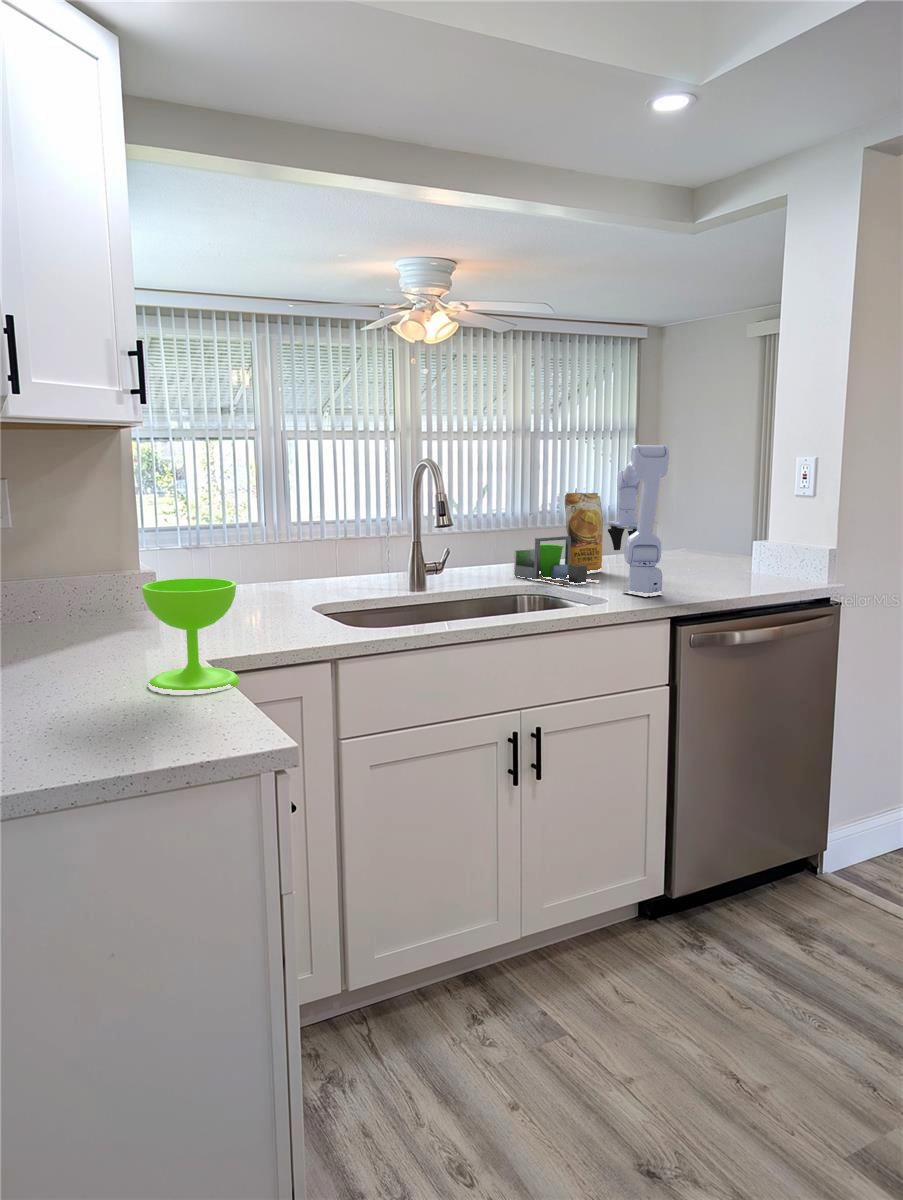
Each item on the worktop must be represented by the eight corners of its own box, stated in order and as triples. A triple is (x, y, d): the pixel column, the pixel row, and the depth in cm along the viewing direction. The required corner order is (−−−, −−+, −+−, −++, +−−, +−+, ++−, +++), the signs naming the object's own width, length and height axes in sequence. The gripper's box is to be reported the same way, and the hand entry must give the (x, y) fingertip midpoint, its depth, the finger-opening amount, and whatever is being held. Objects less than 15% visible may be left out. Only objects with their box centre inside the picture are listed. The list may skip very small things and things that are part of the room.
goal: (569, 577, 283) (570, 536, 281) (536, 581, 275) (537, 538, 272) (546, 573, 292) (548, 533, 290) (514, 576, 284) (515, 535, 281)
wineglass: (129, 684, 150) (123, 585, 147) (204, 667, 162) (200, 575, 159) (182, 701, 140) (177, 595, 137) (258, 681, 153) (255, 584, 150)
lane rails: (599, 583, 271) (599, 579, 271) (567, 587, 263) (567, 583, 263) (567, 577, 283) (567, 574, 283) (536, 580, 275) (536, 577, 275)
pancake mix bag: (555, 573, 292) (558, 492, 287) (595, 570, 302) (599, 491, 297) (568, 576, 286) (571, 493, 281) (609, 572, 297) (612, 492, 292)
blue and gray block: (588, 584, 270) (589, 565, 269) (574, 585, 266) (575, 566, 265) (564, 579, 279) (565, 561, 278) (550, 580, 275) (551, 562, 274)
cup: (563, 580, 276) (564, 547, 274) (535, 580, 277) (536, 547, 275) (562, 576, 285) (563, 544, 283) (535, 576, 286) (536, 544, 284)
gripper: (602, 508, 272) (600, 549, 274) (634, 510, 260) (631, 554, 262) (618, 507, 276) (616, 548, 278) (650, 510, 263) (648, 553, 266)
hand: (625, 551), depth 270 cm, fingers open, 7 cm apart
